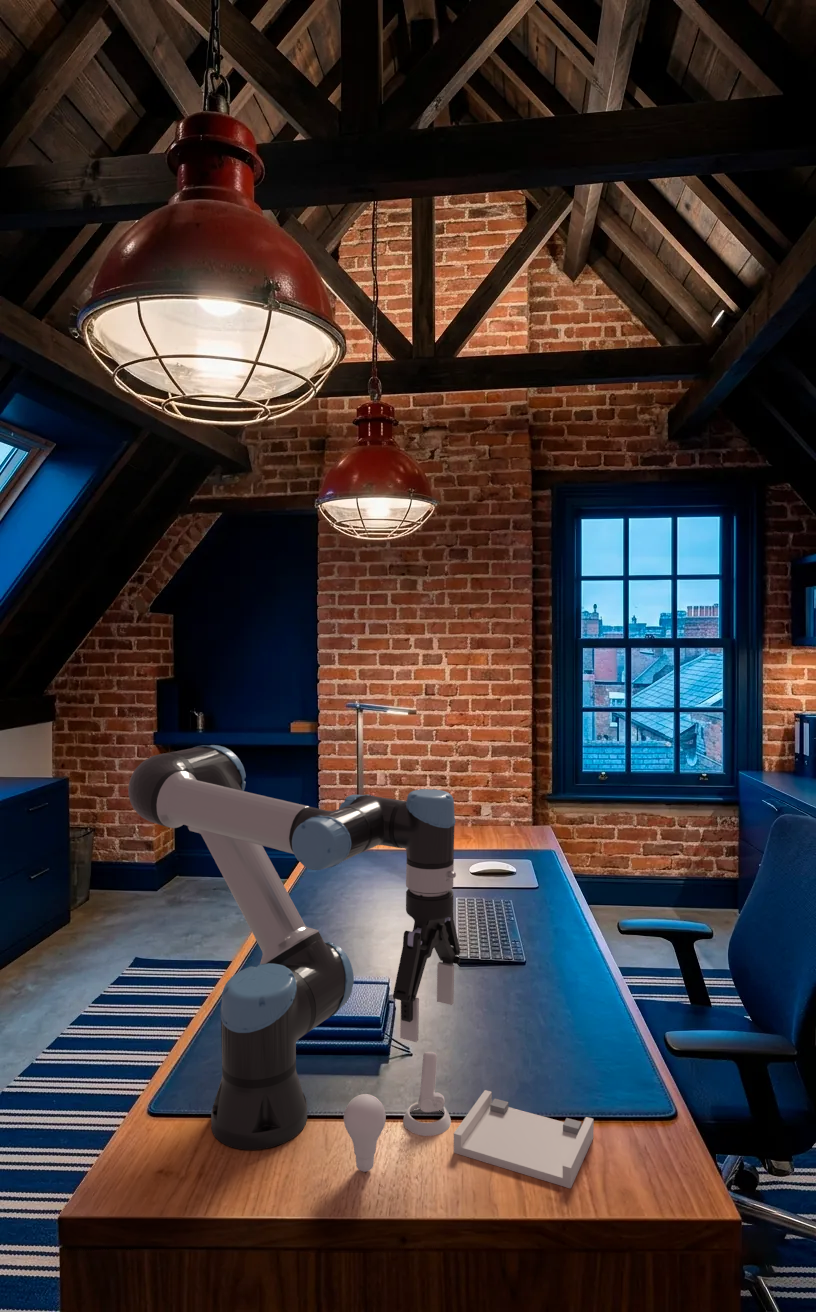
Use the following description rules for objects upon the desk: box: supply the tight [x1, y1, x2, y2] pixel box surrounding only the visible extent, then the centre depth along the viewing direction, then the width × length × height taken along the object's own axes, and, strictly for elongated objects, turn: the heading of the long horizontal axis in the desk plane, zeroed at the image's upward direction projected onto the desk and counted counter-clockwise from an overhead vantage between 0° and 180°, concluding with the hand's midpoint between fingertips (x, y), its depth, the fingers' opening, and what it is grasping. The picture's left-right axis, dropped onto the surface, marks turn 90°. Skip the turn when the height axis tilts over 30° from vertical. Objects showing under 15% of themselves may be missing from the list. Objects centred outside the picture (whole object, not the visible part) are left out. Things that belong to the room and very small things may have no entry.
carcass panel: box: [453, 1089, 595, 1189], centre depth 129 cm, size 18×13×3 cm
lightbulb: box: [343, 1093, 387, 1173], centre depth 123 cm, size 6×6×11 cm
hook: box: [402, 1051, 452, 1137], centre depth 137 cm, size 8×12×7 cm
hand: (428, 1020), depth 134 cm, fingers open, 13 cm apart
